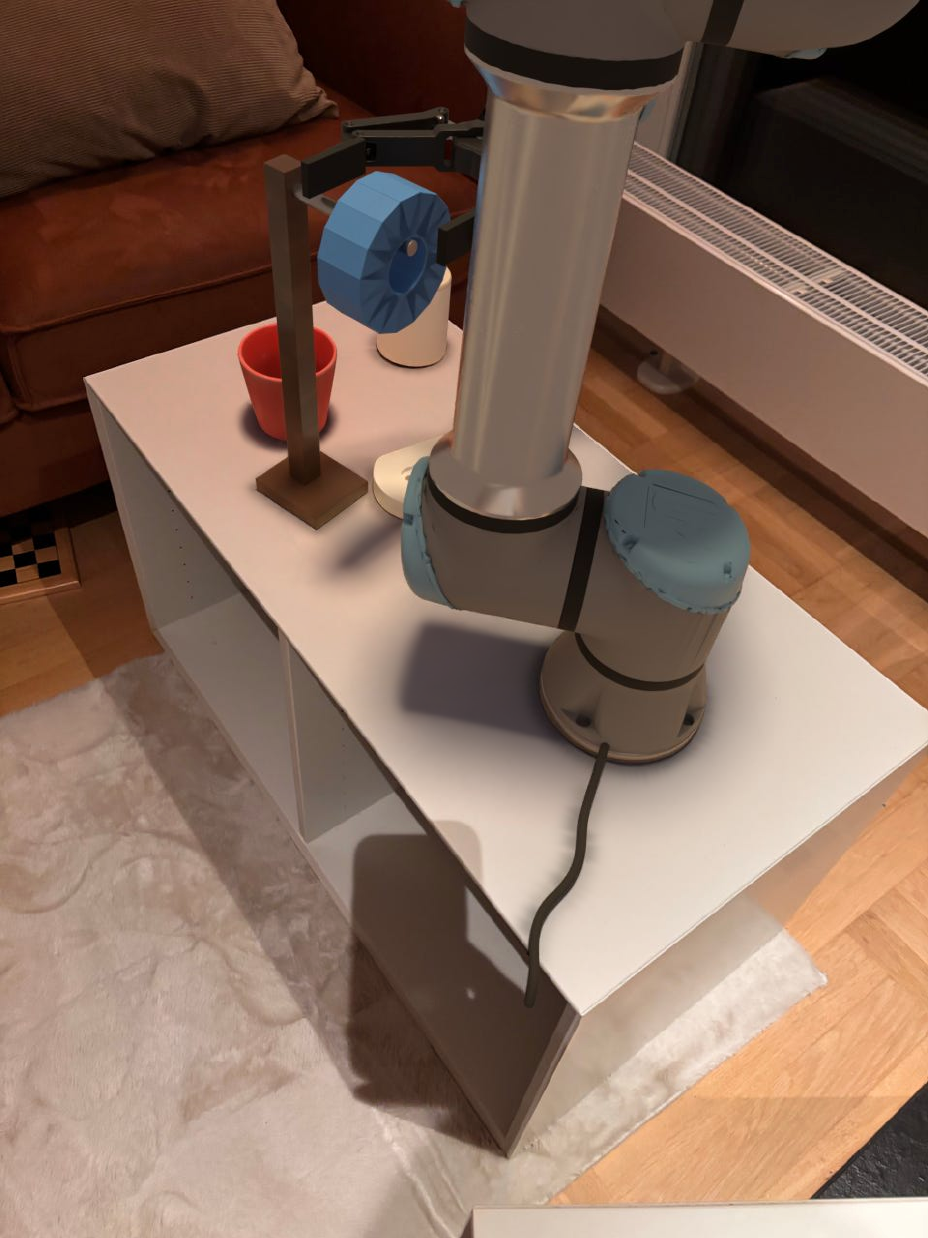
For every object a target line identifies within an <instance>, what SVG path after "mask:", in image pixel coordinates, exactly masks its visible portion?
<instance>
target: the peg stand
mask: <svg viewBox="0 0 928 1238" xmlns="http://www.w3.org/2000/svg"><path fill="white" fill-rule="evenodd" d="M262 165H263V176H264V186H265V187H264V188H265V200H266V211H267V212H266V213H267V225H268V234H269V236H268V237H269V246H270V247H269V248H270V260H271V270H272V282H273V283H272V284H273V292H274V306H275V317H276V318H275V319H276V323H277V331H278V343H279V354H280V366H281V378H282V390H283V402H284V413H285V425H286V437H287V441H286V447H287V457H285V458H284V459H282V460H281V461H279V462H278V463H277V464H275V465H274V466H272V467H270V468H268V469H267V470H266V471H264V472H262V473H261V474H260V475H258V476H257V477H256V478H255V487H256V490H257V491H259V492H260V493H262V494H263V495H265V496H266V497H268V498H269V499H270V500H272V501H273V502H275V503H277V504H278V505H280V506H281V507H283V508H284V509H285V510H287V511H289V512H290V513H292V514H293V515H295V516H296V517H297V518H299V519H300V520H301V521H304V522H305V523H307V524H308V525H310V526H311V527H313V528H314V529H315V530H319V529H320V528H321V527H323V526H324V525H325V524H326V523H328V522H329V521H330V520H332V519H333V518H335V517H336V516H337V515H339V514H340V513H342V512H343V511H344V510H345V509H347V508H348V507H350V506H351V505H352V504H353V503H355V502H356V501H357V500H359V499H361V498H362V497H363V496H365V494H367V493H368V492H369V480H368V479H366V478H364V477H363V476H361V475H359V474H358V473H357V472H355V471H353V470H352V469H350V468H348V467H347V466H345V465H343V464H342V463H340V462H339V461H337V460H336V459H334V458H333V457H331V456H330V455H327V453H324V452H323V451H321V446H320V432H319V425H318V405H317V385H316V365H315V345H314V327H315V325H314V309H313V308H314V306H313V287H312V286H313V285H312V269H311V268H312V267H311V246H310V229H309V227H310V226H309V208H308V207H311V208H312V209H315V210H317V211H319V212H321V213H323V214H324V215H327V216H328V217H330V215H331V213H332V211H333V210H334V208H335V206H336V204H337V202H338V201H336V200H334V199H331V198H330V197H328V196H326V195H323V193H322V194H320V195H318V196H316V197H314V198H311V199H307V198H305V197H303V196H302V178H301V160H298V159H296V158H294V157H291V156H289V155H288V154H286V153H284V154H281V155H277V156H276V157H274V158H272V159H269V160H267V161H264V162H263V164H262ZM397 250H398V251H400V252H402V253H404V254H406V255H408V256H413V255H414V254H415V252H416V250H417V242H416V241H415V240H413V239H411V238H410V239H408V240H406V241H404V243H403V244H402V245H401V246H400V247H399V248H398V249H397Z"/></svg>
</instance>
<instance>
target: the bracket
mask: <svg viewBox="0 0 928 1238" xmlns="http://www.w3.org/2000/svg"><path fill="white" fill-rule="evenodd" d="M447 433H448V432H445V433H443V434H440V435H436V436H434V437H431V438H429V439H426V440H423V441H420V442H417V443H414V444H411V445H408V446H405V447H402V448H399V449H397V450H394V451H390V452H388V453H385V454H382V455H380V456H379V457H378V458H377V459H376V461H375V463H374V465H373V485H372V486H373V488H372V489H373V493H374V497H375V500H376V502H377V503H378V504H379V505H380V506H381V508H383V509H384V510H385V511H386V512H387V513H389V514H391V515H393V516H394V517H396V518H399V519H402V520H403V504H404V498H405V493H406V488H407V484H408V480H409V477H410V474H411V472H412V469H413V467H414V465H415V464H416V462H417V461H418V460H419V459H420V458H422V457H425V456H430V454H431V450H432V449H433V447H434V445H435V444H436V442H437V441H438V440H439V439H440V438H441V437H443V436H444V435H445V434H447Z"/></svg>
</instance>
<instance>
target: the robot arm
mask: <svg viewBox="0 0 928 1238" xmlns="http://www.w3.org/2000/svg"><path fill="white" fill-rule="evenodd" d="M446 2H448V3H450V4H451V6H452V7H454V8H458V9H460V8H461V7H462V6H464V7H465V13H466V14H465V24H464V34H463V35H464V37H463V47H464V48H463V49H464V50H463V51H464V54H465V55H466V56H467V58H468V60H469V61H470V62H471V63H472V65H473V67H475V69H476V70H477V71H478V73H479V74H480V75H481V77H482V79H484V82H485V84H486V87H487V94H486V102H485V103H486V104H485V105H484V107H483V109H482V110H481V111H480V113H479V114H478V116H477V117H476V119H474V120H468V121H462V122H459V123H456V122H453V121H452V120H450V119H449V117H450V116H449V115H450V110H449V108H447V107H444V106H438V107H435V108H432V109H428V110H426V111H422V112H421V111H420V112H412V113H404V114H393V115H392V114H391V115H385V116H376V117H375V116H374V117H366V118H365V117H364V118H357V119H356V118H355V119H347V120H343V121H341V123H340V128H341V129H340V130H341V142H339V143H337V144H335V145H332V146H330V147H328V148H325V149H324V150H323V151H321V152H318V153H317V154H313V155H311V156H309V157H306V158H304V159H302V160H300V162H301V178H302V196H303V197H305V198H307V199H311V198H314V197H316V196H318V195H320V194H322V195H323V194H325V193H327V192H328V191H329V192H330V191H331V190H333V189H335V188H337V187H339V186H342V185H344V184H346V183H348V182H351V181H353V180H355V179H358V178H359V177H361V176H364V175H366V174H367V168H399V167H400V168H403V167H404V168H405V167H406V168H409V167H411V168H412V167H413V168H414V167H417V168H418V167H419V168H421V167H433V168H434V169H435V171H436V172H438V173H460V174H463V175H464V174H465V175H467V176H470V177H472V178H473V179H474V180H476V181H477V190H476V201H475V207H474V208H472V209H470V210H468V211H466V212H464V213H463V214H461V215H458V216H457V217H456V218H453V219H452V220H451V221H449V222H448V223H446V224H444V225H442V226H440V227H438V238H437V254H436V263H437V264H439V265H441V266H443V267H445V266H446V265H447V266H448V265H450V264H452V263H454V262H455V261H457V260H459V259H460V258H462V257H463V256H465V255H467V254H469V253H470V257H469V267H468V268H469V269H468V277H467V286H466V287H467V288H466V296H465V307H464V314H463V315H464V318H463V326H462V336H461V345H460V353H459V363H458V375H457V376H458V377H457V383H456V394H455V401H454V403H455V404H454V412H453V413H454V414H453V422H452V423H453V424H452V430H450V431H448V432H446V433H447V434H445V433H444V434H445V435H444V436H443V437H441V438H440V439H439V440H438V441H437V442H436V444H435V445H434V447H433V449H432V450H431V454H430V456H425V457H422V458H420V459H419V460H418V461H417V462H416V464H415V465H414V467H413V469H412V472H411V474H410V477H409V480H408V484H407V488H406V493H405V498H404V504H403V519H402V525H401V528H400V556H401V565H402V571H403V576H404V579H405V582H406V584H407V587H408V588H409V590H410V591H411V592H412V593H413V594H414V595H415V596H416V597H418V598H419V599H421V600H424V601H428V602H431V603H435V604H438V605H441V606H445V607H448V608H449V609H451V610H455V611H460V612H461V611H467V612H471V613H476V614H481V615H486V616H492V617H498V618H501V619H508V620H512V621H518V622H522V623H528V624H533V625H537V626H543V627H547V628H551V629H553V628H554V629H557V630H562V632H561V633H559V635H558V636H557V637H556V638H555V639H554V641H553V642H552V644H551V645H550V647H549V648H548V650H547V652H546V654H545V656H544V658H543V662H542V666H541V670H540V674H539V681H538V682H539V683H538V685H539V686H538V687H539V695H540V701H541V704H542V706H543V709H544V711H545V714H546V715H547V717H548V719H549V720H550V722H551V723H552V724H553V726H554V727H555V729H556V730H557V731H559V733H560V734H561V735H562V736H563V737H564V738H565V739H567V740H568V741H569V742H570V743H572V745H574V746H576V747H577V748H579V749H581V751H584V752H586V753H588V754H589V755H592V756H595V757H596V758H595V762H594V765H593V768H592V770H591V775H590V777H589V781H588V783H587V787H586V790H585V793H584V796H583V799H582V802H581V806H580V809H579V815H578V821H577V831H576V847H575V853H574V856H573V860H572V863H571V866H570V868H569V870H568V871H567V874H566V875H565V876H564V877H563V879H562V880H561V882H559V884H558V885H557V886H556V887H555V888H554V889H553V890H552V891H550V893H549V894H548V895H547V896H546V897H545V898H544V899H543V901H542V903H541V904H540V905H539V907H538V909H537V910H536V912H535V914H534V917H533V918H532V922H531V925H530V930H529V938H528V976H527V977H528V978H527V985H526V989H525V994H524V999H523V1005H524V1007H525V1008H527V1009H531V1008H533V1007H534V1006H535V1003H536V998H537V994H538V989H539V981H540V941H541V940H540V939H541V933H542V929H543V925H544V924H545V920H546V918H547V916H548V914H549V912H551V910H552V909H553V908H554V906H555V905H556V904H557V903H558V902H559V901H560V899H561V898H562V897H563V896H564V895H565V894H566V893H567V892H568V891H569V890H570V889H571V888H572V886H573V885H574V883H576V880H577V879H578V877H579V875H580V873H581V870H582V868H583V864H584V861H585V858H586V857H585V856H586V852H587V851H586V850H587V837H588V825H589V817H590V813H591V810H592V805H593V802H594V799H595V795H596V793H597V790H598V786H599V784H600V781H601V777H602V774H603V771H604V770H603V769H604V767H605V764H606V761H611V762H615V763H621V764H644V763H652V762H656V761H660V760H662V759H665V758H668V757H669V756H672V755H674V754H675V753H677V752H679V751H680V750H681V749H683V747H685V746H686V744H688V743H689V741H690V740H691V739H692V738H693V737H694V734H695V733H696V731H697V730H698V727H699V726H700V724H701V722H702V719H703V716H704V714H705V709H706V703H707V694H708V693H707V676H706V675H707V673H706V662H707V659H708V658H709V655H710V653H711V651H712V649H713V647H714V644H715V643H716V640H717V638H718V636H719V634H720V632H721V630H722V628H723V625H724V624H725V621H726V620H727V617H728V615H729V613H730V611H731V609H732V607H733V606H734V605H735V604H736V602H737V601H738V600H739V598H740V596H741V593H742V589H743V583H744V581H745V577H746V574H747V571H748V569H749V565H750V562H751V556H752V544H751V538H750V534H749V531H748V529H747V526H746V523H745V522H744V520H743V518H742V517H741V515H740V514H739V512H738V511H737V510H736V509H735V508H734V507H733V506H732V505H730V504H729V503H728V502H727V499H726V498H725V497H724V496H723V495H722V494H721V493H719V492H718V491H717V490H716V489H714V488H713V487H711V486H710V485H708V484H706V483H705V482H703V481H701V480H699V479H697V478H695V477H692V476H689V475H687V474H684V473H681V472H678V471H674V470H668V469H658V468H653V469H651V468H650V469H643V470H640V471H639V473H638V474H637V473H633V472H632V473H630V474H626V475H625V476H624V477H622V478H621V479H620V480H618V481H617V482H616V483H615V485H614V486H612V487H611V489H610V490H606V489H600V488H595V487H590V486H585V485H582V484H583V470H582V467H581V464H580V461H579V459H578V458H577V456H576V455H575V453H574V452H573V451H572V450H571V449H570V448H569V447H570V443H571V438H572V433H573V428H574V424H575V420H576V414H577V410H578V405H579V401H580V397H581V391H582V387H583V382H584V379H585V372H586V369H587V364H588V363H587V362H588V358H589V354H590V349H591V345H592V342H593V341H592V340H593V335H594V332H595V326H596V322H597V317H598V313H599V307H600V303H601V298H602V293H603V288H604V285H605V279H606V276H607V271H608V265H609V261H610V256H611V252H612V247H613V242H614V237H615V234H616V228H617V224H618V219H619V214H620V209H621V205H622V201H623V195H624V191H625V186H626V181H627V178H628V172H629V168H630V163H631V158H632V154H633V149H634V145H635V139H636V135H637V132H638V131H637V130H638V127H639V126H640V125H642V124H643V123H644V122H645V121H646V120H647V119H648V118H649V117H650V115H651V114H652V112H653V110H654V108H655V107H656V104H657V100H658V96H659V95H661V94H662V93H664V92H665V91H667V89H669V88H671V86H673V85H674V84H675V82H676V81H677V78H678V76H679V72H680V67H681V64H682V59H683V55H684V50H685V46H686V43H687V42H694V43H703V44H708V45H714V46H719V47H726V48H727V47H728V48H733V49H738V50H743V51H750V52H754V53H755V52H756V53H761V54H766V55H772V56H775V57H777V58H782V59H793V58H795V59H803V60H804V59H805V60H813V59H817V58H819V57H820V56H822V55H823V54H824V53H825V52H826V51H827V49H836V48H842V47H846V46H851V45H856V44H858V43H861V42H864V41H867V40H870V39H871V38H873V37H875V36H877V35H879V34H880V33H883V32H884V31H886V30H888V29H890V28H891V27H893V26H894V25H895V24H896V23H898V22H899V21H900V20H901V19H902V18H905V16H906V15H908V13H909V12H910V11H911V10H912V9H913V8H915V7H916V5H917V4H918V3H919V2H920V0H446ZM448 140H450V141H451V150H450V159H445V158H446V146H447V145H446V142H447V141H448Z"/></svg>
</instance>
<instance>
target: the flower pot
mask: <svg viewBox="0 0 928 1238" xmlns="http://www.w3.org/2000/svg"><path fill="white" fill-rule="evenodd" d="M314 345H315V365H316V385H317V405H318V425H319V433H320V432H321V431H322V430H323V429H324V427H325V425H326V422H327V418H328V413H329V406H330V401H331V395H332V390H333V383H334V380H335V379H334V378H335V373H336V367H337V360H338V349H337V348H338V347H337V345H336V342H335V341H334V340H333V338H332V337H331V336H330V335H329V334H328V333H326V331H324V330H323V329H320V328H319V327H316V326H314ZM237 359H238V363H239V366H240V369H241V373H242V376H243V380H244V383H245V386H246V389H247V393H248V396H249V399H250V402H251V405H252V407H253V410H254V414H255V416H256V419H257V421H258V424H259V427H260V428H261V430H262V431H263V432H264V433H265V434H267V435H268V436H270V437H272V438H274V439H277V440H280V441H285V442H287V437H286V425H285V413H284V402H283V390H282V378H281V366H280V354H279V343H278V331H277V322H274V323H269V324H264V325H262V326H259V327H257V328H254V329H253V330H251V331H250V332H248V333H247V334H246V335H245V336H243V338H242V339H241V341H240V343H239V345H238V348H237Z"/></svg>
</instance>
